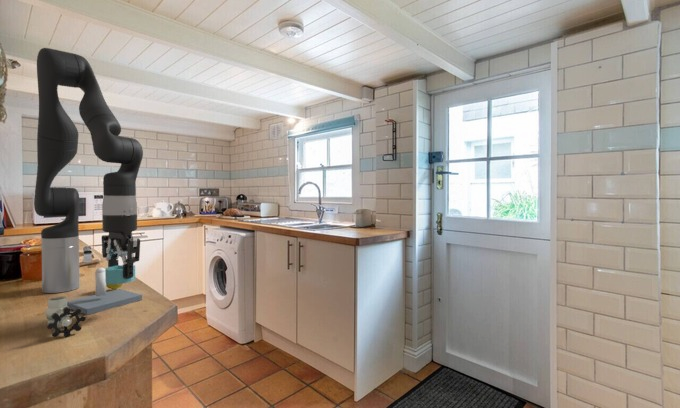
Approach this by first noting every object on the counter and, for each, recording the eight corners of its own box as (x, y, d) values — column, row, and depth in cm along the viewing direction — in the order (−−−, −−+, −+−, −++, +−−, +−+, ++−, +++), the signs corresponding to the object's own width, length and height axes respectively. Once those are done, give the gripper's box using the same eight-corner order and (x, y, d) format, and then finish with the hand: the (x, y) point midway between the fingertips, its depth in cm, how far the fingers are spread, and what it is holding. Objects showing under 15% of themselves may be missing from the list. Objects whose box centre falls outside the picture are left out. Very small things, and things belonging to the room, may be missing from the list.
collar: (100, 281, 84) (100, 268, 84) (126, 276, 90) (126, 263, 90) (114, 285, 81) (114, 271, 81) (140, 279, 87) (140, 266, 87)
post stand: (65, 307, 90) (64, 269, 89) (119, 293, 102) (119, 260, 102) (87, 315, 84) (86, 274, 84) (142, 299, 96) (141, 264, 96)
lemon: (114, 293, 102) (114, 268, 102) (99, 292, 103) (99, 267, 103) (129, 288, 107) (128, 264, 107) (115, 287, 109) (114, 263, 108)
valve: (37, 327, 76) (47, 342, 69) (37, 299, 76) (46, 311, 68) (73, 319, 81) (86, 332, 74) (72, 293, 81) (85, 303, 73)
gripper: (89, 212, 85) (90, 275, 86) (119, 215, 78) (120, 283, 79) (120, 211, 92) (120, 269, 92) (150, 213, 85) (151, 276, 85)
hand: (120, 275), depth 86 cm, fingers closed on collar, 6 cm apart
